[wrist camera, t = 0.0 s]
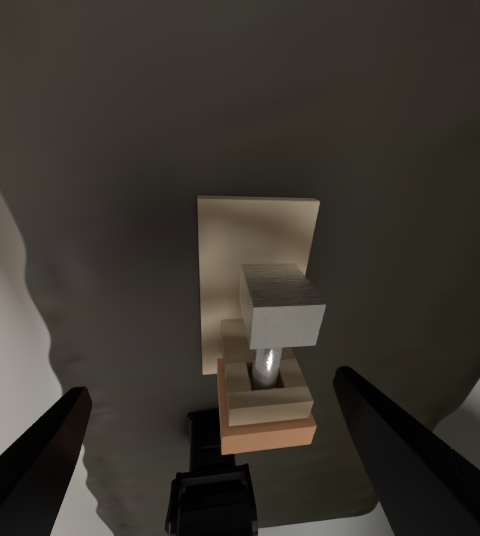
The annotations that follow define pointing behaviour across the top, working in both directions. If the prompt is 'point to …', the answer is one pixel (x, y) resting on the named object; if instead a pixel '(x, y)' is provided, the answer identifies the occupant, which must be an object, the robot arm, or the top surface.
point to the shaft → (277, 315)
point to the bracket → (227, 296)
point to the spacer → (259, 428)
